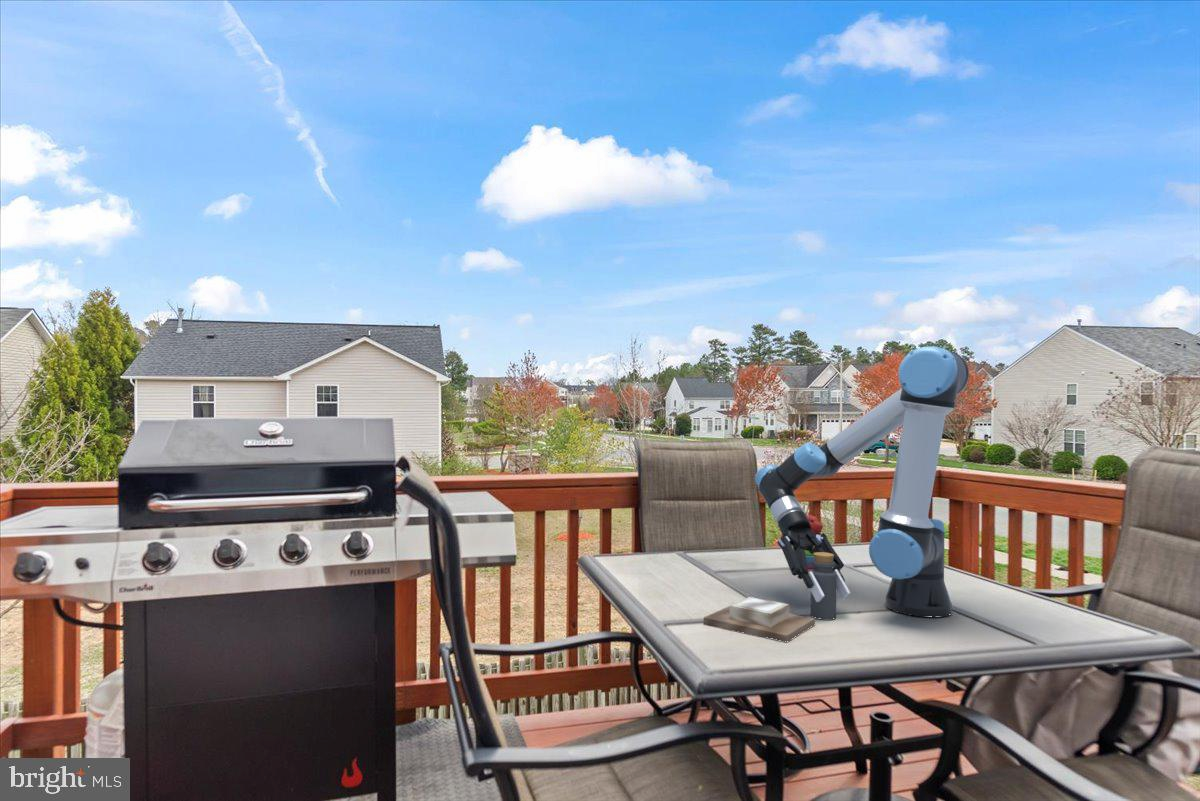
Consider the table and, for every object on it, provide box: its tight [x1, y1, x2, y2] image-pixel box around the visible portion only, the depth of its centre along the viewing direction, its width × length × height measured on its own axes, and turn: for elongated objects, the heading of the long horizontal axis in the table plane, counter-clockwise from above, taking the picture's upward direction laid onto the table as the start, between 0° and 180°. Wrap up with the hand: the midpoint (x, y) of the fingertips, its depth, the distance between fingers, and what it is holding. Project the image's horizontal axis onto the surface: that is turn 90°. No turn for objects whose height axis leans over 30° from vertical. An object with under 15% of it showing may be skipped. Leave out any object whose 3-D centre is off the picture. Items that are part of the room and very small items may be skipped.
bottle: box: [810, 552, 837, 620], centre depth 167 cm, size 6×6×15 cm
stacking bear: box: [793, 513, 824, 573], centre depth 213 cm, size 11×10×18 cm
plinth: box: [703, 596, 816, 643], centre depth 160 cm, size 20×16×5 cm
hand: (833, 597), depth 164 cm, fingers open, 7 cm apart
